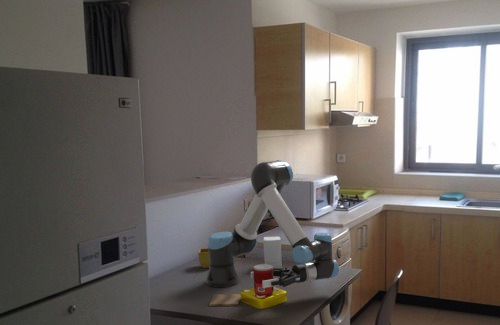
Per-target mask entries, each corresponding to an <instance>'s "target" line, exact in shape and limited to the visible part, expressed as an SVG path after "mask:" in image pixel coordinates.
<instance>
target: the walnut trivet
mask: <svg viewBox="0 0 500 325" xmlns="http://www.w3.org/2000/svg"><path fill="white" fill-rule="evenodd" d="M211 297H212V298H211V299H210V301H209V304H208V306H209V307H222V306H224V307H225V306H227V307H229V306H230V307H236V306H237V307H239V304H240V302H241V295H240V293H231V294H230V293H219V294H217V293H216V294H215V293H214V294H213V295H212V296H211Z"/></svg>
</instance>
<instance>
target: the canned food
mask: <svg viewBox="0 0 500 325" xmlns="http://www.w3.org/2000/svg"><path fill="white" fill-rule="evenodd" d="M253 272H254V278H253V285H254V286H253V287H254V292H255V294H257V295H261V296H266V295H270V294H272V293H273V291H274V287H275V286H273V287H267V288H263V283H262V281H264V280H271V279H274V276H273V266H272V265H269V264H265V263H260V264H257V265H254V266H253Z"/></svg>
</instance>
